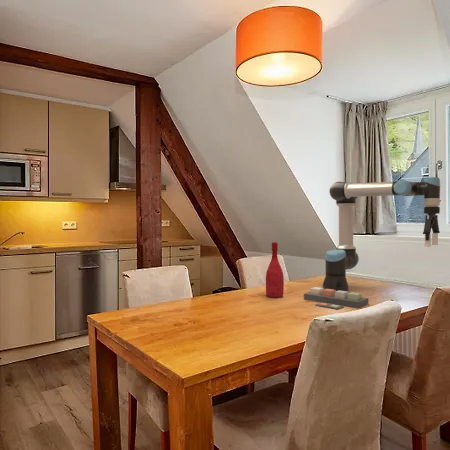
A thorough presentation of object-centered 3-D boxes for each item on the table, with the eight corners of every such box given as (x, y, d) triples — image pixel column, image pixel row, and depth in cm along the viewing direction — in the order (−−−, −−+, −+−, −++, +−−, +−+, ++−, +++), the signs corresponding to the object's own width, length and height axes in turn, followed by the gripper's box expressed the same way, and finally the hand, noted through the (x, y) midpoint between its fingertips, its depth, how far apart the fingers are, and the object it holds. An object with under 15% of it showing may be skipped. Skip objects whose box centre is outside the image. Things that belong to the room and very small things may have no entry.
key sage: (347, 300, 196) (347, 293, 196) (352, 298, 200) (352, 292, 200) (357, 301, 193) (357, 295, 192) (361, 299, 196) (361, 293, 196)
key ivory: (310, 294, 210) (310, 288, 210) (315, 292, 214) (315, 287, 214) (318, 295, 207) (318, 289, 207) (323, 294, 210) (323, 288, 210)
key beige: (334, 298, 201) (334, 291, 201) (339, 296, 204) (339, 290, 204) (343, 299, 197) (343, 293, 197) (348, 297, 201) (348, 291, 201)
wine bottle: (283, 294, 221) (283, 241, 220) (284, 298, 211) (284, 242, 211) (265, 294, 222) (265, 241, 221) (265, 298, 212) (265, 242, 212)
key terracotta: (322, 296, 205) (322, 290, 205) (326, 294, 209) (327, 288, 209) (331, 297, 202) (331, 291, 202) (335, 295, 206) (335, 289, 206)
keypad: (303, 299, 209) (303, 293, 209) (315, 295, 218) (315, 290, 218) (358, 308, 189) (358, 302, 189) (368, 303, 198) (368, 298, 197)
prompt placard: (315, 305, 194) (315, 304, 194) (321, 303, 199) (321, 301, 199) (337, 309, 186) (337, 307, 186) (343, 307, 191) (343, 305, 191)
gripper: (432, 206, 199) (432, 247, 199) (445, 206, 217) (445, 244, 218) (417, 206, 204) (416, 247, 205) (430, 206, 222) (430, 244, 223)
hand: (431, 245), depth 211 cm, fingers open, 13 cm apart
